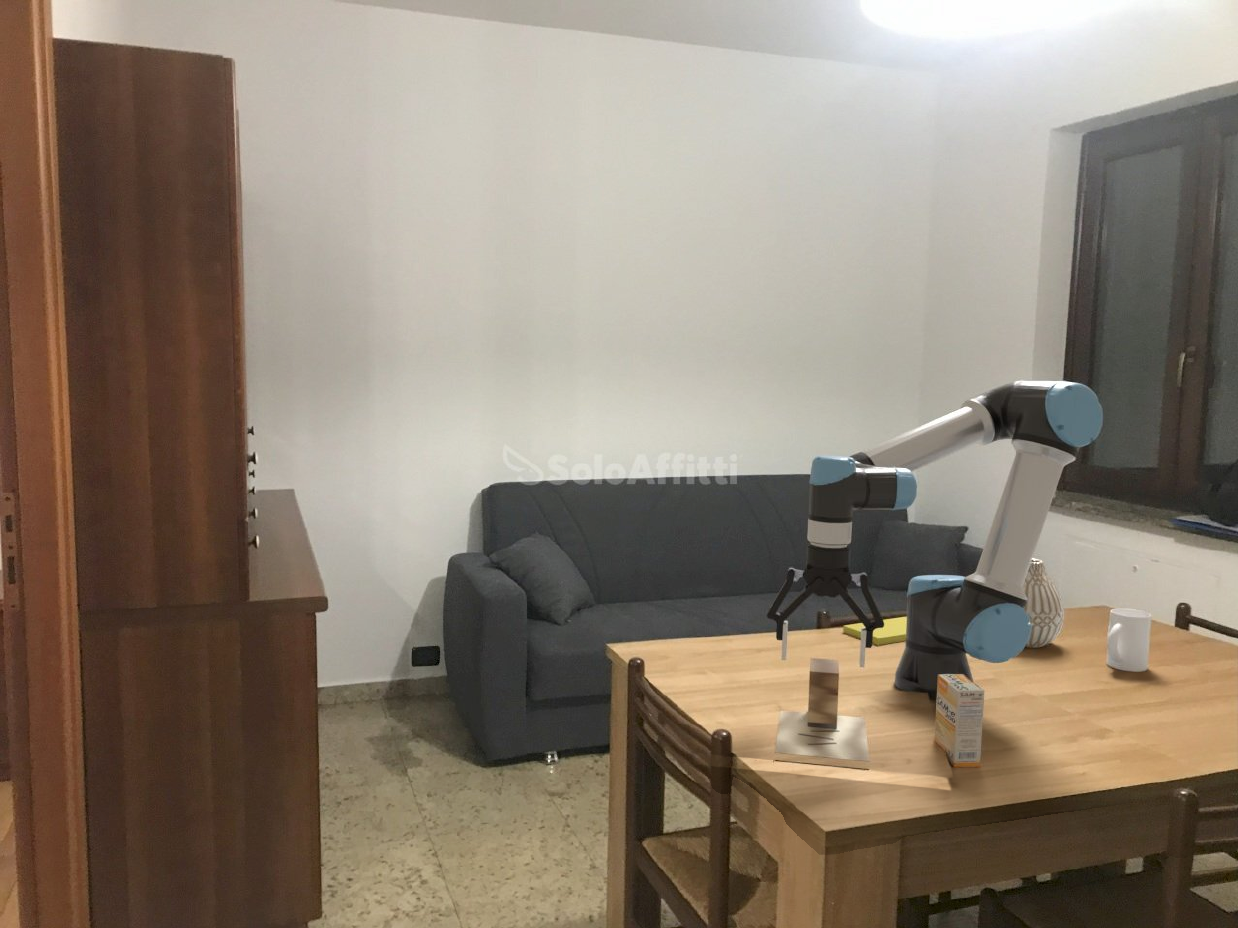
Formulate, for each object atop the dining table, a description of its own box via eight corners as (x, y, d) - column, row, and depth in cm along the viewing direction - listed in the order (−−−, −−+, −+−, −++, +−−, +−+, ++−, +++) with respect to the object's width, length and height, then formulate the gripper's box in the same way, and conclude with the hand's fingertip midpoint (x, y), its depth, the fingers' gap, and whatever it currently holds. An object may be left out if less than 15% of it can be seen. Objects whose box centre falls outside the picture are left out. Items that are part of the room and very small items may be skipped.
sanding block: (836, 713, 178) (838, 659, 177) (836, 729, 170) (838, 673, 169) (808, 710, 179) (810, 657, 178) (807, 726, 171) (809, 671, 170)
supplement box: (932, 747, 167) (936, 673, 165) (959, 747, 167) (963, 673, 166) (952, 767, 158) (956, 689, 157) (981, 767, 159) (985, 689, 157)
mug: (1088, 667, 213) (1092, 613, 212) (1117, 658, 220) (1120, 606, 219) (1126, 677, 207) (1130, 621, 205) (1154, 667, 214) (1158, 614, 212)
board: (864, 725, 176) (864, 717, 176) (868, 770, 157) (869, 760, 157) (780, 718, 179) (780, 709, 179) (774, 760, 160) (775, 751, 160)
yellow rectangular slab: (878, 647, 228) (952, 635, 239) (878, 638, 228) (952, 626, 239) (843, 634, 238) (915, 623, 250) (843, 625, 238) (915, 615, 249)
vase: (1074, 653, 224) (1080, 567, 221) (1004, 652, 224) (1009, 566, 222) (1045, 634, 239) (1050, 553, 237) (979, 632, 240) (984, 552, 238)
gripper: (900, 544, 173) (893, 661, 175) (758, 535, 178) (753, 649, 180) (904, 552, 165) (896, 674, 167) (755, 542, 170) (750, 661, 173)
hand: (822, 661), depth 174 cm, fingers open, 13 cm apart
